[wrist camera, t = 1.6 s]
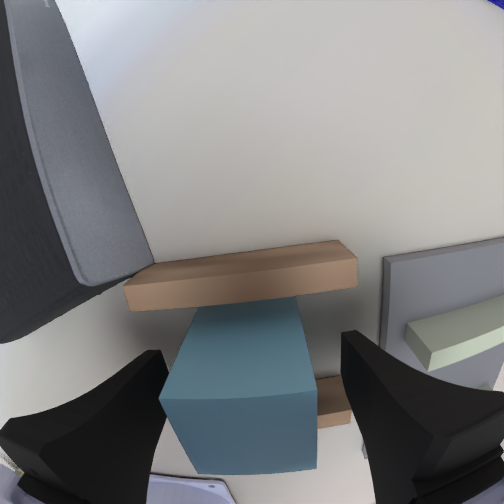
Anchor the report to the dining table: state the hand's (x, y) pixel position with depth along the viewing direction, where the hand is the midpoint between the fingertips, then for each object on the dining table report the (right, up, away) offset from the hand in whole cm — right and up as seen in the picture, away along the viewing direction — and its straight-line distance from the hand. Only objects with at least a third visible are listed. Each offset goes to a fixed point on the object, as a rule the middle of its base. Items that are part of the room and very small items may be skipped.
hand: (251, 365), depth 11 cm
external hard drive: (-13, +10, +1) cm, 17 cm away
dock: (+12, -2, +2) cm, 12 cm away
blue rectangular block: (0, +1, +2) cm, 2 cm away
